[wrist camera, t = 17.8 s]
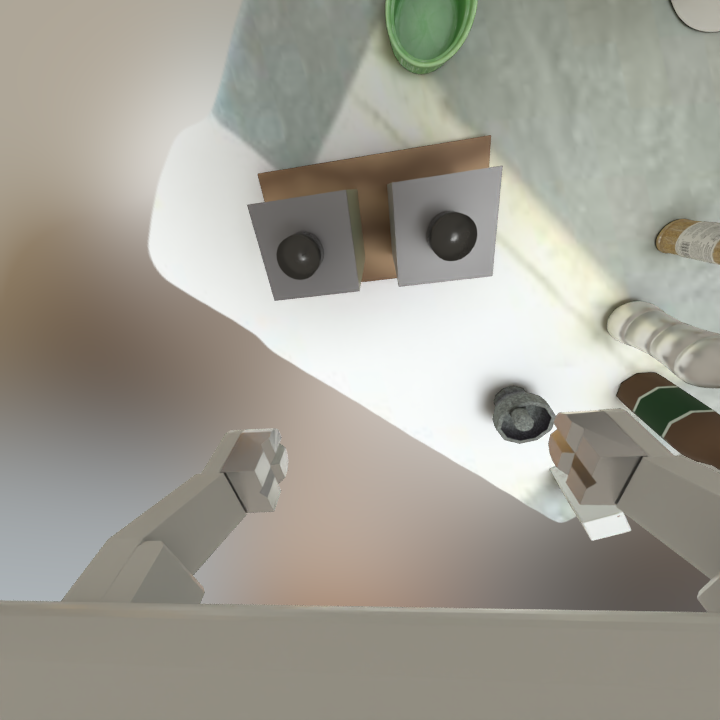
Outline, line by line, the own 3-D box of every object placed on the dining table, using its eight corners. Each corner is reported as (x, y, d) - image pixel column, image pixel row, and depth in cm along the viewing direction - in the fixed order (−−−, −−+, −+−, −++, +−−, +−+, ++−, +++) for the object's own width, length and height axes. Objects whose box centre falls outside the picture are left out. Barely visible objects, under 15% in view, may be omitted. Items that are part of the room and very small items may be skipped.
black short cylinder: (393, 190, 38) (405, 192, 22) (451, 181, 38) (507, 177, 21) (397, 249, 42) (409, 288, 26) (450, 242, 41) (497, 278, 25)
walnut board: (261, 174, 40) (257, 173, 39) (487, 136, 37) (491, 135, 36) (290, 287, 48) (287, 290, 47) (478, 265, 45) (481, 268, 44)
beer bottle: (663, 395, 55) (835, 520, 34) (617, 409, 57) (752, 535, 37) (661, 363, 52) (850, 481, 31) (612, 380, 54) (758, 499, 33)
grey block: (387, 184, 39) (391, 182, 25) (456, 173, 38) (502, 165, 24) (392, 254, 43) (398, 286, 29) (454, 246, 42) (492, 276, 28)
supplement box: (548, 468, 66) (581, 523, 56) (583, 456, 64) (625, 511, 53) (557, 486, 69) (591, 542, 58) (591, 476, 67) (633, 532, 56)
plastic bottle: (593, 334, 50) (708, 412, 32) (612, 295, 46) (751, 359, 29) (632, 336, 49) (768, 415, 32) (654, 297, 46) (819, 363, 29)
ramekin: (475, 52, 33) (488, 34, 30) (401, 97, 36) (404, 86, 32) (453, -60, 29) (464, -97, 26) (371, -2, 32) (370, -27, 28)
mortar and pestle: (544, 403, 57) (581, 450, 47) (499, 425, 61) (524, 473, 50) (519, 364, 53) (553, 407, 43) (472, 389, 57) (493, 434, 46)
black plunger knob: (297, 205, 40) (241, 216, 23) (351, 196, 39) (332, 203, 23) (309, 260, 43) (268, 304, 27) (359, 254, 43) (346, 295, 26)
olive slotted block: (292, 199, 40) (247, 204, 26) (357, 189, 39) (345, 189, 25) (307, 265, 45) (274, 300, 31) (365, 258, 44) (359, 291, 30)
